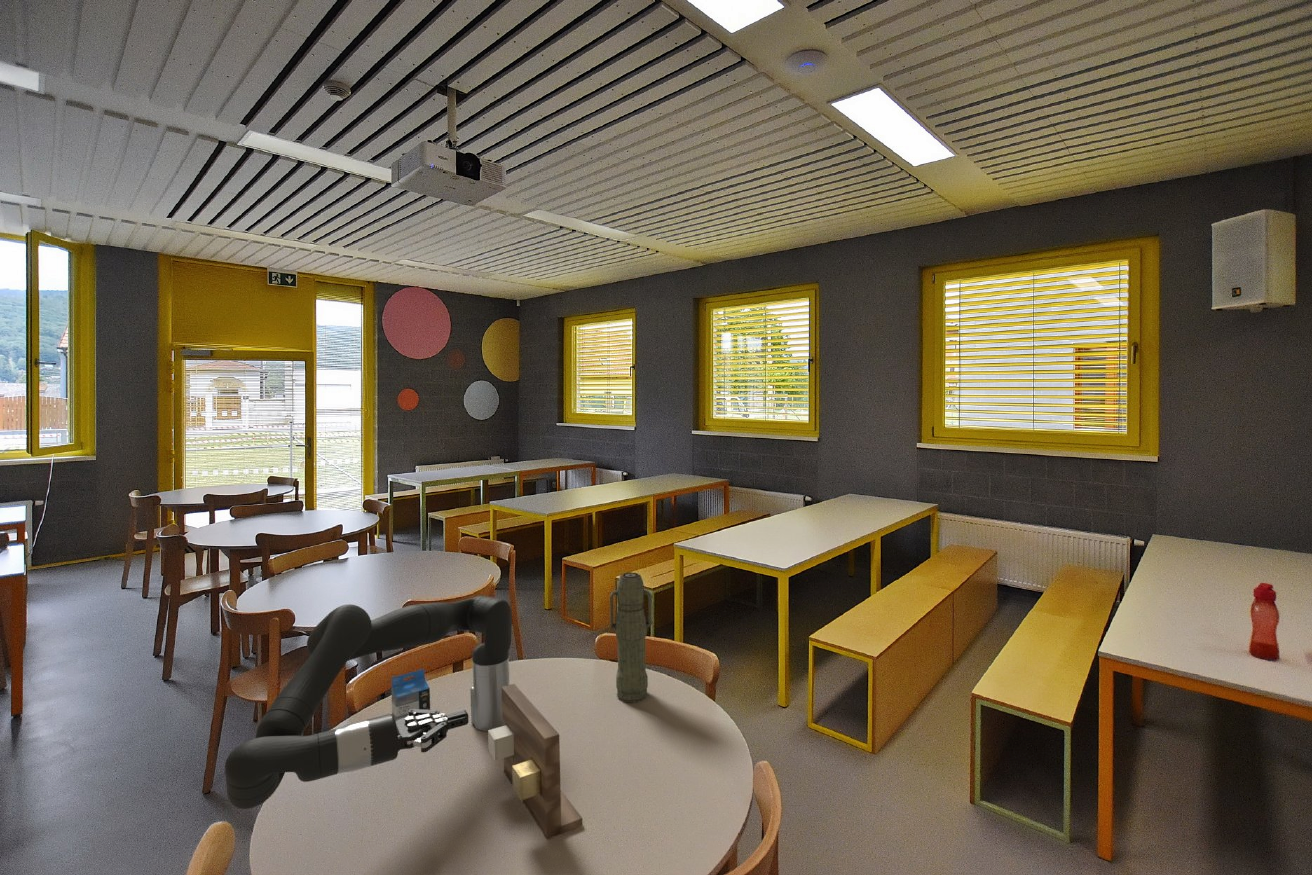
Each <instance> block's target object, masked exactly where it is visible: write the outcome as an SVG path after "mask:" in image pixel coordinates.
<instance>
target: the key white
mask: <svg viewBox="0 0 1312 875" xmlns="http://www.w3.org/2000/svg"><path fill="white" fill-rule="evenodd" d="M487 738H488V743H487V744H488V752H489V754H490V755H491V756H492V758H493V760H494V762H495V761H498V760H502V759H503V758H505V757H509V756H512V755H514V733H513V732H512V731H511V729H510V728H509V727H508V725H505V726H502V727H498V728H495V729H491V730H488V731H487Z"/></svg>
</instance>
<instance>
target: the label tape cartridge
mask: <svg viewBox="0 0 1312 875" xmlns="http://www.w3.org/2000/svg"><path fill="white" fill-rule="evenodd" d="M425 675H426V674H425V668H421V669H419V670H418V669H417V670H415V671H411V672H408V673H403V674H401V675H395V676H392V677H391V678H390V679H391V680H390V681H391V714H392V715H393V716H394V718H395V721H396V720H399V719H401V718H406V717H407V716H408V711H409V710H410V709H423V710H431V694H430V692H431V690H430V686H429V683H428V681H427V679H426V676H425ZM408 677H409V678H410V679H407V678H408ZM412 677H413V678H412ZM406 679H407V680H406Z"/></svg>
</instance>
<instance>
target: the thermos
mask: <svg viewBox="0 0 1312 875" xmlns="http://www.w3.org/2000/svg"><path fill="white" fill-rule="evenodd" d="M645 595H646V596H647V603H648V604H647V607H648V608H647V611H648V612H647V614H646V610H645V605H644V602H645ZM614 596H616V597H617V612H616V614H615V622H614ZM652 598H653V595H652V593H651V592H650V591H649V590H647V589H645V585H644V581H643V578H642V575H641V574H639V573H637V572H633V571H632V572H624V573H622V574H621V575H619V578H618V581H617V585H616V589H615V590H612V592H611V593H610V594H609V618H610V620H609V622H610V628H611V629H612V628H613V629H614V630H615V637H616V638H617V671H616V677H615V679H616V680H615V682H616V683H615V684H616V685H615V686H616V689H617V692H616V697H618V698H617V699H618V700H619V699H620V700H619V701H621V702H624V701H625V702H624V703H629V704H630V703H631V704H632V703H638V701H639V702H642V701H644V700H645V699H646V698H647V697H648V687H649V686H648V685H649V682H648V680H649V678H648V673H647V670H646V666H647V665H646V660H647V659H646V637H647V634H648V630H647V629H648V628H650V627H651V626H652V625H653V620H652V618H653V617H652V609H653V605H652V604H653V599H652ZM647 616H648V617H647ZM647 618H648V620H647ZM643 699H644V700H643Z"/></svg>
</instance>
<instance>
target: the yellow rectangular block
mask: <svg viewBox="0 0 1312 875" xmlns="http://www.w3.org/2000/svg"><path fill="white" fill-rule="evenodd" d="M512 777H513V786H512V789H513V791H514V792H515V794H516V796H517V798H518V799H519V800H520V801H522V800H524V799H527V798H530V797H532V796H535V795H538V794H541V793H542V787H541V769H540V768H539V766H538V765H537V764H536V762H535V761H534V760H533V759H532V760H529V761H526V762H523V763H520V764H516V765H513V766H512Z"/></svg>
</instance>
